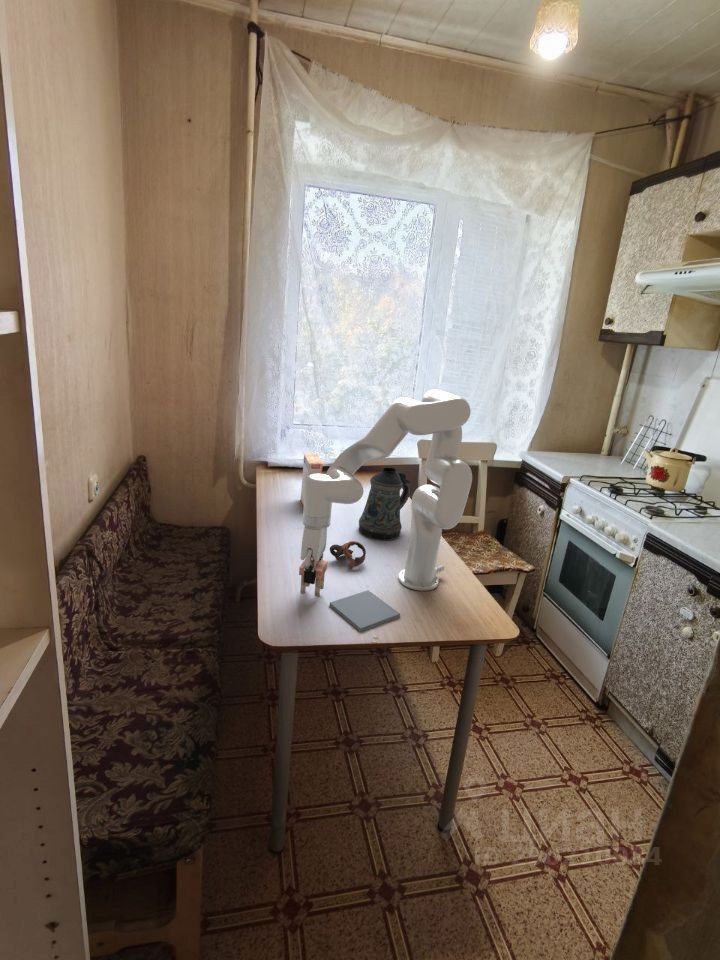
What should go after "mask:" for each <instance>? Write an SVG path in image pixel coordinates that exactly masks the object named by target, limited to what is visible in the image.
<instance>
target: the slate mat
mask: <svg viewBox="0 0 720 960" xmlns="http://www.w3.org/2000/svg"><path fill="white" fill-rule="evenodd" d="M329 607H330V608H332V609H333V610H334V611H335V612H336V613H337V614H339V615H340V616H341V617H342V618H343V619H344V620H346V621H347V622H348V623H350V625H351V626H353V627H355V629H356V630H358V631H359V632H363V631H365V630H368V629H371V628H374V627H376V626H379V625H381V624H384V623H386V622H389V621H392V620H395V619H397V618H399V617H400V616H401V613H400V612H399V611H397V610H396V609H395V608H393V607H392V606H390V605H389V603H387V602H385V601H384V600H383V599H381V598H380V597H378V596H377V595H376V594H375V593H373V592H372V591H370V590H368V589H366V590H364V591H361V592H358V593H354V594H352V595H349V596H347V597H343V598H340V599H336V600H333V601H330V602H329Z"/></svg>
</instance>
